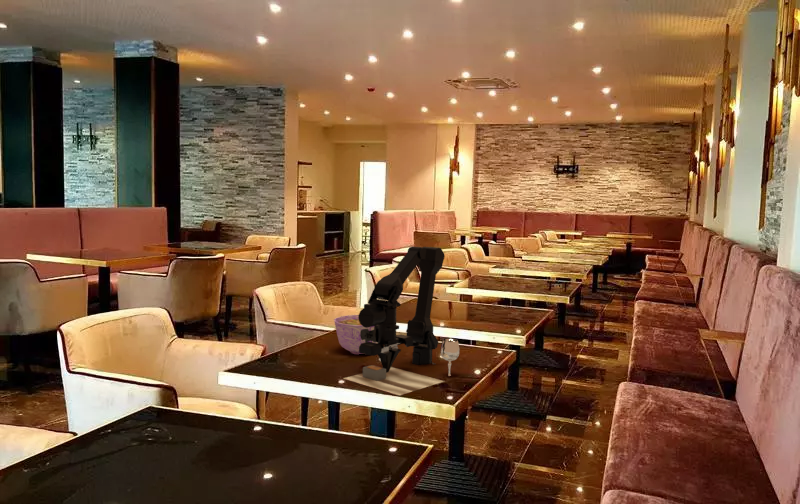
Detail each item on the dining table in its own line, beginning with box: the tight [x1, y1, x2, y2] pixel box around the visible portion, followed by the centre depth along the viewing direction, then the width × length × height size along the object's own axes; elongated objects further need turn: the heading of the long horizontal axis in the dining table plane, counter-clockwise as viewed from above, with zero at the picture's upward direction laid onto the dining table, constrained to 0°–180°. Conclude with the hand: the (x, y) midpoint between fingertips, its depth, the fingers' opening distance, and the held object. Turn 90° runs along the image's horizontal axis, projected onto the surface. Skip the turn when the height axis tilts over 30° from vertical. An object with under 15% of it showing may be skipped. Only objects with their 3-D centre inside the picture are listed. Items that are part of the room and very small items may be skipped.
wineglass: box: [440, 338, 460, 377], centre depth 202 cm, size 6×6×12 cm
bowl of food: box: [333, 314, 378, 355], centre depth 234 cm, size 20×20×12 cm
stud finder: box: [362, 364, 386, 381], centre depth 198 cm, size 4×6×3 cm, turn 47°
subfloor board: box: [343, 366, 445, 396], centre depth 196 cm, size 20×23×1 cm
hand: (386, 372), depth 202 cm, fingers closed
